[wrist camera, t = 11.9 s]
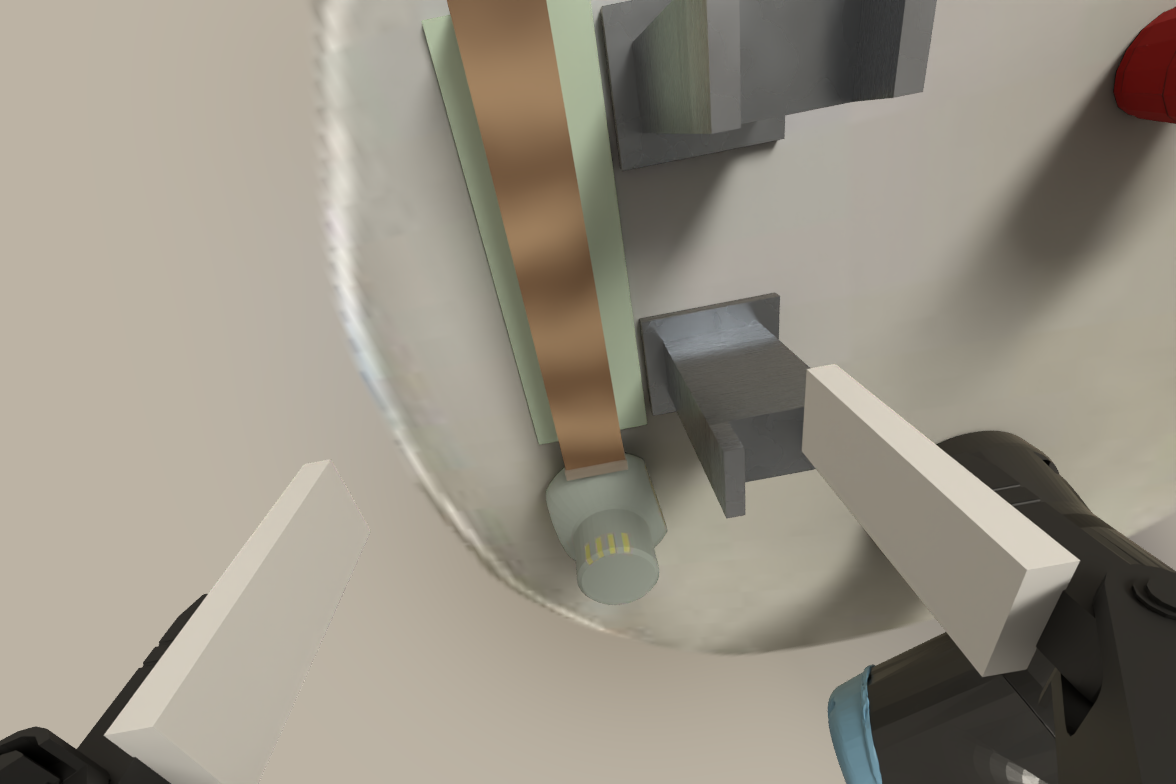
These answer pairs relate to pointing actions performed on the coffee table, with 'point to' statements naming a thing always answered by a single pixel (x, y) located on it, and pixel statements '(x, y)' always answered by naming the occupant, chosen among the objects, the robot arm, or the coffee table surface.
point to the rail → (542, 218)
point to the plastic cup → (1150, 72)
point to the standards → (727, 121)
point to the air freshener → (609, 530)
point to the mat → (596, 195)
